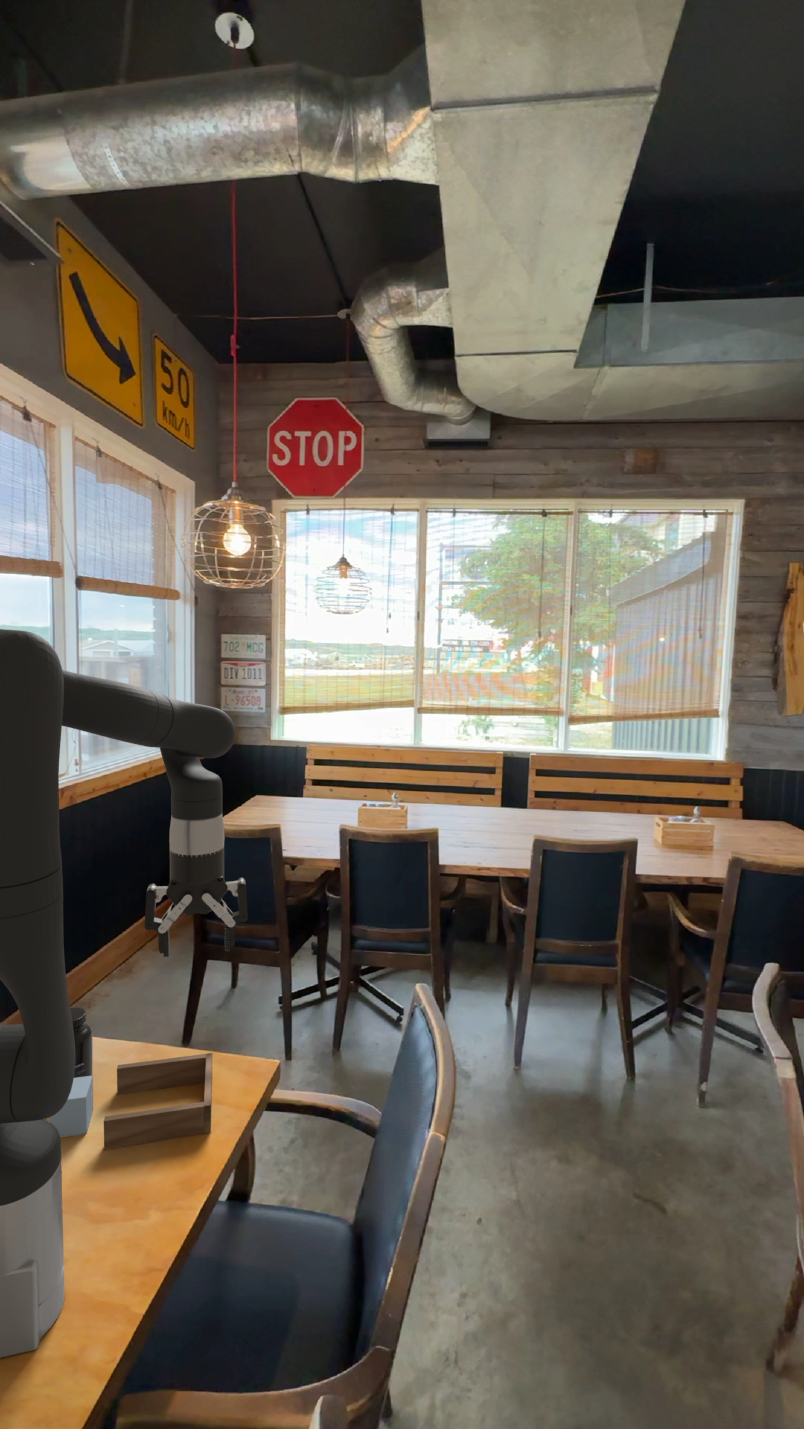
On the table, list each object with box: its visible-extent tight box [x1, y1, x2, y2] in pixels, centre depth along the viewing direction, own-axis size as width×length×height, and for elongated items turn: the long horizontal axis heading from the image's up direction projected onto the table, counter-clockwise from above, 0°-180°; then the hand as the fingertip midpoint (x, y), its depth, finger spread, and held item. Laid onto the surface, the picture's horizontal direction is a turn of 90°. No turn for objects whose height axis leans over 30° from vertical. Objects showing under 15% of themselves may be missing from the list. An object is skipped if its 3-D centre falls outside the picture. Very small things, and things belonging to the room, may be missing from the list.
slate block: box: [49, 1075, 94, 1139], centre depth 100 cm, size 5×5×6 cm
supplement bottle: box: [70, 1006, 94, 1078], centre depth 109 cm, size 7×7×12 cm
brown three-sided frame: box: [103, 1052, 213, 1150], centre depth 103 cm, size 13×15×4 cm
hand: (197, 951), depth 96 cm, fingers open, 8 cm apart
